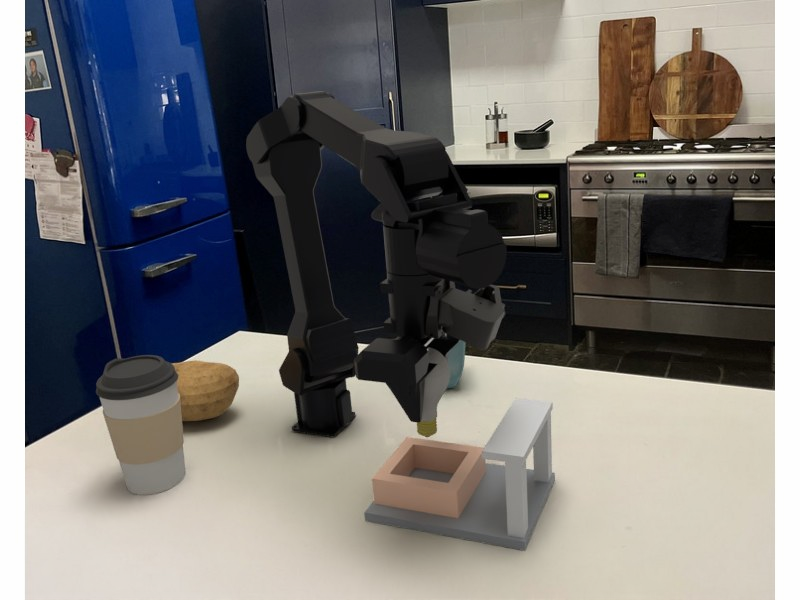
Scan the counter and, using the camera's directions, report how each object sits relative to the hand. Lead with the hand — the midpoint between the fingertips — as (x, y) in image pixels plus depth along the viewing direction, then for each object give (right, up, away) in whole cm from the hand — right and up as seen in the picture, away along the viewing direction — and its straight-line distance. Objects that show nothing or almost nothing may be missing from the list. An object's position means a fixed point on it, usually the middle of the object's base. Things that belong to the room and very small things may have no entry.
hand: (425, 410), depth 81 cm
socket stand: (+4, -10, +2) cm, 11 cm away
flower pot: (+3, -1, +31) cm, 31 cm away
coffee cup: (-32, -10, +11) cm, 35 cm away
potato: (-31, -5, +26) cm, 41 cm away
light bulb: (0, -3, +1) cm, 3 cm away
